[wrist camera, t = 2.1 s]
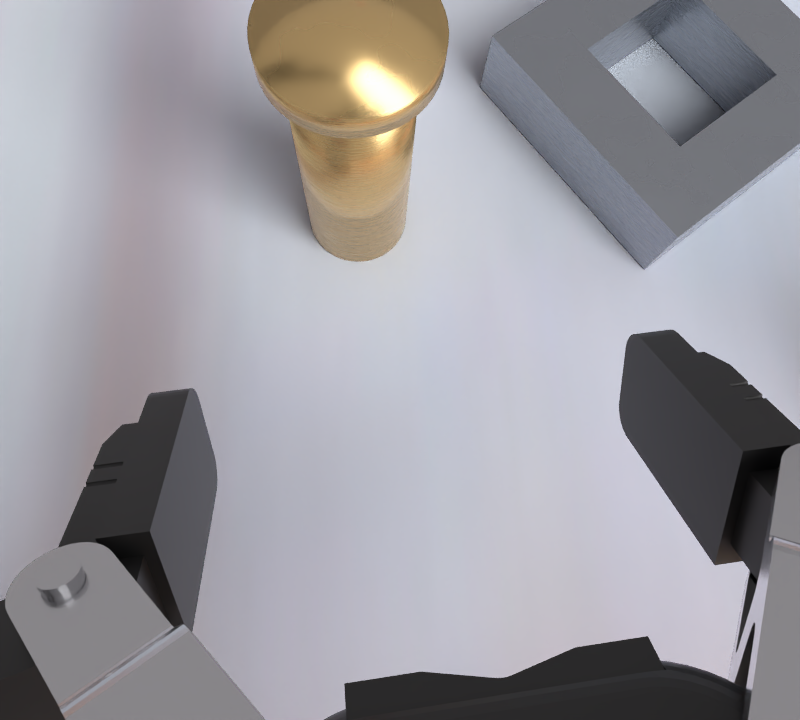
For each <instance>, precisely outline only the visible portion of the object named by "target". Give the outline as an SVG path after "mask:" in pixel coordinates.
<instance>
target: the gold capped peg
mask: <svg viewBox="0 0 800 720" xmlns="http://www.w3.org/2000/svg"><path fill="white" fill-rule="evenodd" d="M247 35H248V44H249V50H250V53H251V57H252V61H253V65H254V69H255V73H256V76H257V79H258V82H259V84H260V86H261V88H262V90H263V92H264V94H265V95H266V97H267V98H268V99H269V101H270V102H271V104H272V105H273V106H274V107H275V108H276V109H277V110H278V111H279V112H280V113H281V114H283V115H284V116H285V117H286V118H288V119H289V121H290V125H291V130H292V135H293V140H294V145H295V150H296V154H297V159H298V164H299V169H300V174H301V178H302V183H303V188H304V193H305V198H306V202H307V207H308V212H309V217H310V222H311V227H312V230H313V233H314V235H315V237H316V239H317V240H318V242H319V243H320V244H321V246H322V247H323V248H324V249H326V250H327V251H328V252H329V253H331V254H332V255H334V256H336V257H338V258H341V259H344V260H349V261H368V260H372V259H375V258H378V257H380V256H382V255H384V254H385V253H387V252H388V251H389V250H391V249H392V248H393V247H394V246H395V245H396V243H397V242H398V241H399V239H400V237H401V235H402V233H403V230H404V227H405V220H406V211H407V201H408V191H409V182H410V172H411V163H412V153H413V143H414V134H415V124H416V116H417V115H418V114H419V113H420V112H421V111H422V110H423V109H424V108H425V107H426V106H427V105H428V103H429V102H430V101H431V99H432V98H433V97H434V95H435V93H436V91H437V89H438V88H439V85H440V82H441V80H442V77H443V72H444V67H445V61H446V55H447V48H448V40H449V28H448V20H447V16H446V12H445V9H444V7H443V4H442V2H441V0H254V2H253V4H252V7H251V11H250V14H249V19H248V26H247Z"/></svg>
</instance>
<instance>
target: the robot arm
mask: <svg viewBox="0 0 800 720" xmlns="http://www.w3.org/2000/svg"><path fill="white" fill-rule="evenodd" d="M619 413H620V419H621V424H622V427H623V430H624V432H625V434H626V436H627V437H628V439H629V440H630V442H631V443H632V445H633V446H634V448H635V449H636V451H637V452H638V454H639V455H640V457H641V458H642V459H643V461H644V462H645V464H646V465H647V467H648V468H649V470H650V471H651V473H652V474H653V476H654V477H655V478H656V480H657V481H658V483H659V484H660V486H661V487H662V489H663V490H664V492H665V493H666V495H667V496H668V498H669V499H670V500H671V502H672V503H673V505H674V506H675V508H676V509H677V511H678V512H679V514H680V515H681V517H682V518H683V519H684V521H685V522H686V524H687V525H688V527H689V528H690V530H691V531H692V533H693V534H694V536H695V537H696V539H697V540H698V541H699V543H700V544H701V546H702V547H703V549H704V550H705V552H706V553H707V555H708V556H709V558H710V559H711V560H712V562H713V563H714V565H719V564H726V563H732V562H739V561H743V562H744V563H745V564H746V566H747V567H748V569H749V572H748V576H747V579H746V583H745V587H744V593H743V599H742V604H741V610H740V615H739V621H738V627H737V632H736V638H735V643H734V649H733V654H732V660H731V666H730V671H729V676H728V680H727V679H725V678H722V677H720V676H717V675H715V674H713V673H710V672H708V671H704V670H701V669H698V668H695V667H691V666H688V665H683V664H678V663H673V662H667V661H660V659H659V657H658V655H657V653H656V651H655V649H654V647H653V645H652V644H651V642H650V640H649V638H648V636H647V637H640V638H634V639H627V640H621V641H615V642H608V643H602V644H595V645H589V646H583V647H576V648H573V649H571V650H569V651H566V652H564V653H562V654H559V655H557V656H555V657H553V658H550V659H548V660H546V661H544V662H541V663H539V664H537V665H534V666H532V667H530V668H528V669H525V670H523V671H521V672H518V673H516V674H514V675H512V676H509V677H505V678H488V677H476V676H464V675H453V674H441V673H430V672H416V673H409V674H403V675H397V676H390V677H384V678H377V679H371V680H365V681H358V682H352V683H345V702H346V709H345V710H342V711H340V712H338V713H336V714H334V715H332V716H330V717H328V718H326V719H325V720H800V430H799V429H798V428H797V427H796V426H795V425H794V424H793V423H792V422H791V421H790V420H789V419H787V418H786V417H785V416H784V415H783V414H782V413H781V412H780V411H779V410H778V409H777V408H776V407H775V406H774V405H773V404H771V403H770V402H769V401H768V400H767V399H766V398H764V399H763V398H762V394H761V393H760V392H759V391H758V390H757V389H755V388H754V387H753V386H752V385H748V381H747V380H746V379H745V378H744V377H743V376H742V375H741V374H739V373H738V372H737V371H736V370H735V369H734V368H733V367H732V366H731V365H730V364H728V363H726V362H724V361H722V360H720V359H718V358H716V357H714V356H711V355H709V354H707V353H705V352H699V353H698V352H697V351H696V350H695V349H694V348H693V347H692V346H690V345H689V344H688V343H687V342H686V341H685V340H684V339H683V338H682V337H681V336H680V335H679V334H678V333H677V332H676V331H674V330H664V331H656V332H648V333H640V334H633V335H631V336H630V337H629V339H628V341H627V344H626V351H625V359H624V368H623V376H622V384H621V393H620V401H619ZM93 466H94V469H93V470H91V472H90V475H89V477H88V479H87V482H86V487H84V489H83V491H82V493H81V495H80V498H79V500H78V502H77V505H76V507H75V509H74V512H73V514H72V516H71V519H70V521H69V523H68V526H67V528H66V530H65V533H64V535H63V537H62V540H61V542H60V544H59V547H58V548H56V549H54V550H52V551H50V552H48V553H46V554H44V555H42V556H40V557H39V558H37V559H36V560H34V561H33V562H32V563H30V564H29V565H28V566H27V567H25V568H24V569H23V570H22V571H21V572H20V573H19V574H18V576H17V577H16V578H15V579H14V581H13V582H12V584H11V585H10V587H9V589H8V592H7V594H6V599H4V600H2V601H0V720H265V719H264V718H263V716H262V715H261V714H260V713H259V712H258V710H257V709H256V708H255V707H254V706H253V705H252V703H251V702H250V701H249V700H248V699H247V697H246V696H245V695H244V694H243V693H242V691H241V690H240V689H239V688H238V687H237V685H236V684H235V683H234V682H233V681H232V679H231V678H230V677H229V676H228V675H227V673H226V672H225V671H224V670H223V669H222V667H221V666H220V665H219V664H218V663H217V661H216V660H215V659H214V658H213V657H212V656H211V654H210V653H209V652H208V651H207V650H206V648H205V647H204V646H203V645H202V644H201V642H200V641H199V640H198V639H197V638H196V636H195V635H194V634H193V633H192V630H193V624H194V618H195V612H196V606H197V601H198V595H199V589H200V583H201V578H202V572H203V566H204V560H205V554H206V549H207V543H208V537H209V531H210V525H211V520H212V514H213V508H214V502H215V497H216V491H217V469H216V461H215V456H214V452H213V449H212V445H211V442H210V438H209V434H208V431H207V427H206V424H205V420H204V416H203V413H202V409H201V405H200V402H199V399H198V396H197V393H196V391H195V390H194V389H193V388H190V389H182V390H174V391H166V392H158V393H151V394H149V396H148V398H147V400H146V403H145V406H144V408H143V411H142V414H141V416H140V419H139V422H138V423H132V424H124V425H122V426H121V427H120V428H118V429H117V430H116V431H115V432H114V433H113V434H112V435H111V436H110V437H109V438H108V439H107V440H106V441H105V442H104V443H103V444H102V447H101V449H100V451H99V454H98V456H97V458H96V461H95V463H94V465H93Z"/></svg>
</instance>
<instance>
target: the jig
mask: <svg viewBox="0 0 800 720" xmlns="http://www.w3.org/2000/svg"><path fill="white" fill-rule="evenodd" d="M652 38H654V39H655V40H656V41H657V42H658V43H659V44H660V45H661V46H662V47H663V48H664V49H665V50H666V51H667V52H668V53H669V54H670V55H671V56H672V58H673V59H674V60H675V61H676V62H677V63H678V64H679V65H680V66H681V67H682V68H683V69H684V70H685V71H686V72H687V73H688V74H689V75H690V76H691V77H692V78H693V79H694V80H695V81H696V82H697V83H698V84H699V85H700V86H701V87H702V88H703V89H704V90H705V91H706V92H707V93H708V94H709V95H710V96H711V97H712V98H713V99H714V100H715V101H716V102H717V103H718V104H719V105H720V107H721V108H722V109H723V110H724V111H725V112H726V113H725V114H723V115H722V116H721V117H719V118H718V119H717V120H715V121H714V122H713V123H711V124H710V125H708V126H707V127H706V128H704V129H703V130H702V131H700V132H699V133H698V134H696V135H695V136H694V137H692V138H691V139H690V140H688V141H687V142H686V143H684V144H683V145H681V146H679V145H678V144H677V143H676V142H675V141H674V140H673V138H672V137H671V136H670V135H669V134H668V133H667V132H666V131H665V130H664V129H663V128H662V127H661V126H660V125H659V124H658V123H657V122H656V121H655V120H654V118H653V117H652V116H651V115H650V114H649V113H648V112H647V111H646V110H645V109H644V108H643V107H642V106H641V105H640V104H639V103H638V102H637V101H636V100H635V99H634V97H633V96H632V95H631V94H630V93H629V92H628V91H627V90H626V89H625V88H624V87H623V86H622V85H621V84H620V83H619V82H618V81H617V80H616V79H615V78H614V76H613V75H612V74H611V73H610V72H609V71H608V70H607V69H608V68H610V67H611V66H613V65H614V64H616V63H617V62H619V61H620V60H621V59H623V58H624V57H626V56H627V55H629V54H630V53H632V52H633V51H634V50H636V49H637V48H639V47H640V46H642V45H643V44H645V43H646V42H647V41H649V40H650V39H652ZM480 87H481V89H482V90H483V91H484V92H485V93H486V94H487V95H488V96H489V97H490V99H491V100H492V101H493V102H494V103H495V104H496V105H497V106H498V107H499V109H500V110H501V111H502V112H503V113H504V114H505V115H506V116H507V117H508V119H509V120H510V121H511V122H512V123H513V124H514V125H515V126H516V127H517V129H518V130H519V131H520V132H521V133H522V134H523V135H524V136H525V137H526V139H527V140H528V141H529V142H530V143H531V144H532V145H533V146H534V148H535V149H536V150H537V151H538V152H539V153H540V154H541V155H542V156H543V158H544V159H545V160H546V161H547V162H548V163H549V164H550V165H551V166H552V168H553V169H554V170H555V171H556V172H557V173H558V174H559V175H560V176H561V178H562V179H563V180H564V181H565V182H566V183H567V184H568V185H569V186H570V188H571V189H572V190H573V191H574V192H575V193H576V194H577V195H578V196H579V198H580V199H581V200H582V201H583V202H584V203H585V204H586V205H587V206H588V208H589V209H590V210H591V211H592V212H593V213H594V214H595V215H596V216H597V218H598V219H599V220H600V221H601V222H602V223H603V224H604V225H605V226H606V228H607V229H608V230H609V231H610V232H611V233H612V234H613V235H614V236H615V238H616V239H617V240H618V241H619V242H620V243H621V244H622V245H623V246H624V248H625V249H626V250H627V251H628V252H629V253H630V254H631V255H632V256H633V258H634V259H635V260H636V261H637V262H638V263H639V264H640V265H641V266H642V268H643V269H645V268H647V267H648V266H649V265H651V264H652V263H653V262H654V261H656V260H657V259H658V258H660V257H661V256H662V255H663V254H665V253H666V252H667V251H669V250H670V249H671V248H672V247H674V246H675V245H676V244H678V243H679V242H680V241H681V240H683V239H684V238H685V237H687V236H688V235H689V234H691V233H692V232H693V231H694V230H696V229H697V228H698V227H700V226H701V225H702V224H703V223H705V222H706V221H707V220H709V219H710V218H711V217H712V216H714V215H715V214H716V213H718V212H719V211H720V210H721V209H723V208H724V207H725V206H727V205H728V204H729V203H730V202H732V201H733V200H734V199H736V198H737V197H738V196H739V195H741V194H742V193H743V192H745V191H746V190H747V189H748V188H750V187H751V186H752V185H754V184H755V183H756V182H757V181H759V180H760V179H761V178H763V177H764V176H765V175H766V174H768V173H769V172H770V171H772V170H773V169H774V168H775V167H777V166H778V165H779V164H781V163H782V162H783V161H784V160H786V159H787V158H788V157H790V156H791V155H792V154H794V153H795V152H796V151H797V150H799V149H800V19H799V18H798V17H797V16H796V15H795V14H794V13H793V12H792V11H791V10H790V9H789V8H788V7H787V6H786V5H785V4H784V3H783V2H782V1H781V0H547V1H545V2H544V3H542V4H541V5H539V6H538V7H536V8H535V9H533V10H532V11H530V12H528V13H527V14H525V15H524V16H522V17H521V18H519V19H518V20H516V21H515V22H513V23H512V24H510V25H509V26H507V27H506V28H504V29H502V30H501V31H499V32H498V33H496V34H495V35H493V36H492V40H491V44H490V48H489V52H488V56H487V60H486V64H485V68H484V73H483V77H482V81H481V85H480Z"/></svg>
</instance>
